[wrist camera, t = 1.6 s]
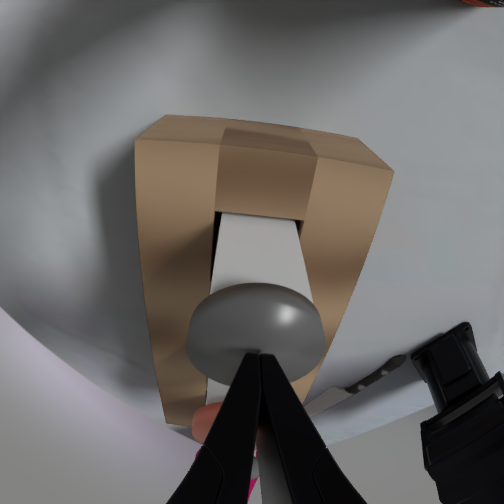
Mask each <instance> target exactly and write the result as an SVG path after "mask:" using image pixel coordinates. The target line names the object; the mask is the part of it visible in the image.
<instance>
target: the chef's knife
mask: <svg viewBox="0 0 504 504" xmlns="http://www.w3.org/2000/svg"><path fill="white" fill-rule="evenodd" d="M405 359H406V356H404V355H398V356H395V357H393V358H392V359H391V360H390V361H389V362H388V363H386V364H385V365H384V366H383V367H382V368H380V369H379V370H377V371H376V372H374V373H373V374H371V375H370V376H368V377H366V378H365V379H363V380H361V381H359V382H358V383H356V384H354V385H353V386H351V387H349V388H340V387H334V386H332V387H330V388H329V389H327V390H326V391H325V392H323V393H322V394H321V395H319V396H318V397H316V398H315V399H313V400H312V401H311V402H309V403H308V404H306V405H305V406H303V407H304V408H305V410H306V412H307V414H308V415H309V417H310V418H311V417H313V416H315V415H317V414H318V413H320V412H322V411H324V410H326V409H328V408H330V407H332V406H333V405H335V404H337V403H339V402H341V401H342V400H344V399H346V398H348V397H350V396H351V395H353V394H356V393H357V392H359V391H361V390H362V389H364V388H365V387H367V386H368V385H370V384H372V383H373V382H375V381H376V380H378V379H380V378H381V377H383V376H384V375H386V374H387V373H389V372H391V371H392V370H394V369H396V368H397V367H399V366H400V365H401V364H402V363H403V362H404V361H405Z"/></svg>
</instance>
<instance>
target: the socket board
mask: <svg viewBox="0 0 504 504" xmlns="http://www.w3.org/2000/svg"><path fill="white" fill-rule="evenodd" d="M393 175H394V171H393V170H392V169H391V168H390V167H389V166H388V165H387V164H386V163H385V162H384V161H383V160H382V159H380V158H379V157H378V156H377V155H376V154H375V153H374V152H373V151H372V150H370V149H369V148H368V147H367V146H366V145H365V144H364V143H363V142H361V141H360V140H359V139H358V138H353V137H348V136H343V135H338V134H333V133H327V132H322V131H316V130H310V129H304V128H298V127H291V126H284V125H277V124H269V123H261V122H253V121H244V120H234V119H223V118H211V117H197V116H179V115H165V116H164V117H163V118H161V119H160V120H159V121H157V122H156V123H155V124H154V125H152V126H151V127H150V128H149V129H147V130H146V131H145V132H144V133H142V134H141V135H140V136H139V137H137V138H136V139H135V189H136V210H137V227H138V240H139V252H140V263H141V273H142V282H143V291H144V299H145V307H146V315H147V322H148V329H149V335H150V342H151V348H152V354H153V360H154V366H155V371H156V377H157V382H158V387H159V392H160V397H161V402H162V407H163V411H164V416H165V420H166V423H167V424H174V425H182V426H190V427H192V421H193V414H194V413H195V411H196V410H198V409H199V408H201V407H202V406H205V405H206V398H207V387H208V377H206V376H205V375H203V374H202V373H201V372H199V371H198V370H197V369H196V368H195V367H194V365H193V364H192V363H191V361H190V359H189V357H188V355H187V351H186V340H187V334H188V329H189V323H190V319H191V316H192V314H193V312H194V310H195V308H196V307H197V306H198V304H200V303H201V302H202V301H203V300H204V299H205V298H206V297H208V296H209V295H210V290H211V283H212V276H213V269H214V262H215V256H216V249H217V242H218V236H219V229H220V227H218V226H219V213H220V211H221V212H231V213H241V214H250V215H260V216H269V217H278V218H287V219H294V221H295V225H296V229H297V233H298V237H299V241H300V246H301V250H302V254H303V259H304V263H305V268H306V272H307V276H308V281H309V286H310V290H311V295H312V299H313V304H314V306H315V307H316V308H317V310H318V312H319V314H320V317H321V321H322V325H323V330H324V334H325V339H326V348H325V353H324V355H323V357H322V359H321V361H320V362H319V364H318V365H317V366H316V367H315V368H314V369H313V370H312V371H311V372H310V373H308V374H307V375H305V376H304V377H302V378H300V379H298V380H296V381H294V382H292V383H290V384H291V385H292V387H293V389H294V391H295V393H296V394H297V396H298V398H299V400H300V401H301V403H302V404H303V402H304V400H305V398H306V396H307V394H308V392H309V390H310V388H311V386H312V384H313V382H314V380H315V377H316V375H317V373H318V371H319V369H320V367H321V365H322V363H323V361H324V358H325V356H326V354H327V352H328V350H329V347H330V345H331V343H332V341H333V338H334V336H335V334H336V332H337V329H338V327H339V325H340V322H341V320H342V318H343V315H344V313H345V310H346V308H347V306H348V303H349V301H350V298H351V296H352V293H353V291H354V288H355V286H356V283H357V281H358V278H359V275H360V273H361V270H362V267H363V265H364V262H365V259H366V257H367V254H368V251H369V248H370V246H371V243H372V240H373V237H374V234H375V231H376V228H377V225H378V222H379V219H380V216H381V213H382V210H383V207H384V204H385V201H386V198H387V194H388V191H389V188H390V185H391V181H392V178H393Z"/></svg>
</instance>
